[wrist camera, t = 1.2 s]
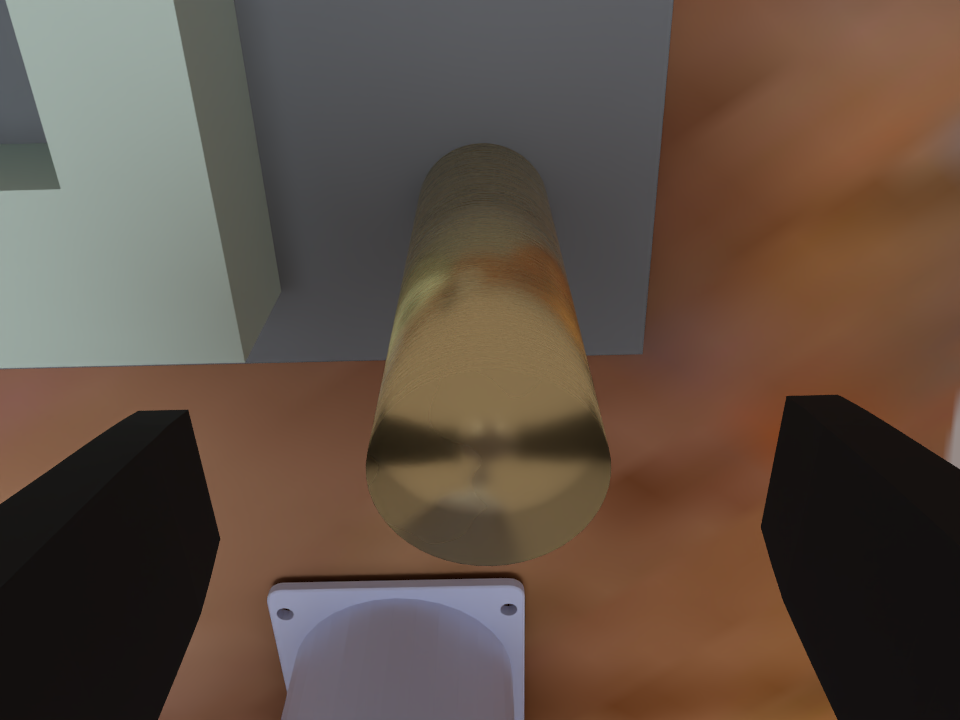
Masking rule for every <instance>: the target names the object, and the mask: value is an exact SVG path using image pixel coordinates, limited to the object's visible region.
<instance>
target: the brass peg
mask: <svg viewBox="0 0 960 720" xmlns="http://www.w3.org/2000/svg"><path fill="white" fill-rule="evenodd" d="M610 476H611V458H610V453H609V447H608V443H607V439H606V435H605V431H604V426H603V422H602V418H601V414H600V410H599V406H598V402H597V398H596V394H595V390H594V386H593V381H592V377H591V373H590V369H589V365H588V361H587V357H586V353H585V349H584V345H583V340H582V336H581V332H580V328H579V324H578V320H577V316H576V312H575V308H574V304H573V299H572V295H571V291H570V287H569V283H568V279H567V275H566V271H565V267H564V263H563V258H562V254H561V250H560V246H559V242H558V238H557V234H556V230H555V226H554V222H553V218H552V213H551V209H550V205H549V201H548V197H547V193H546V189H545V186H544V183H543V181H542V179H541V177H540V175H539V173H538V172H537V170H536V169H535V168H534V166H533V165H532V164H531V163H530V162H529V161H528V160H527V159H526V158H524V157H523V156H522V155H520V154H519V153H517V152H516V151H514V150H511V149H509V148H507V147H504V146H501V145H496V144H490V143H478V144H470V145H466V146H463V147H460V148H457V149H455V150H453V151H451V152H449V153H448V154H446V155H445V156H443V157H442V158H441V159H440V160H439V161H438V162H437V163H436V164H435V165H434V166H433V167H432V168H431V170H430V171H429V173H428V174H427V176H426V177H425V180H424V182H423V184H422V187H421V191H420V195H419V200H418V205H417V210H416V215H415V219H414V224H413V229H412V234H411V239H410V244H409V249H408V254H407V259H406V264H405V269H404V274H403V279H402V284H401V289H400V294H399V299H398V304H397V309H396V314H395V319H394V324H393V329H392V333H391V338H390V343H389V348H388V353H387V358H386V363H385V368H384V373H383V378H382V383H381V388H380V393H379V398H378V403H377V408H376V413H375V418H374V423H373V428H372V433H371V438H370V442H369V447H368V452H367V460H366V479H367V484H368V489H369V492H370V495H371V498H372V500H373V503H374V505H375V506H376V508H377V510H378V512H379V514H380V515H381V516H382V518H383V519H384V520H385V522H386V523H387V524H388V525H389V526H390V527H391V528H392V529H393V530H394V531H395V532H396V533H397V534H398V535H399V536H400V537H402V538H403V539H404V540H406V541H407V542H408V543H410V544H411V545H413V546H415V547H416V548H418V549H420V550H422V551H424V552H426V553H428V554H430V555H432V556H435V557H438V558H441V559H444V560H447V561H452V562H456V563H460V564H467V565H475V566H497V565H508V564H514V563H520V562H524V561H527V560H531V559H535V558H537V557H540V556H542V555H545V554H548V553H550V552H551V551H553V550H555V549H557V548H559V547H561V546H563V545H564V544H566V543H567V542H569V541H570V540H572V539H573V538H574V537H575V536H576V535H578V534H579V533H580V532H581V531H582V530H583V529H584V528H585V527H586V526H587V525H588V524H589V523H590V522H591V520H592V519H593V518H594V516H595V515H596V513H597V512H598V510H599V509H600V507H601V505H602V503H603V501H604V499H605V496H606V493H607V490H608V487H609V482H610Z"/></svg>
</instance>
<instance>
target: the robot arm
mask: <svg viewBox="0 0 960 720" xmlns="http://www.w3.org/2000/svg"><path fill="white" fill-rule="evenodd" d="M761 530H762V533H763V537H764V540H765V543H766V547H767V550H768V554H769V557H770V561H771V564H772V568H773V571H774V574H775V577H776V580H777V583H778V586H779V589H780V592H781V595H782V599H783V602H784V604H785V606H786V608H787V611H788V613H789V615H790V617H791V620H792V622H793V624H794V626H795V629H796V631H797V633H798V635H799V637H800V639H801V642H802V644H803V646H804V648H805V650H806V653H807V655H808V657H809V659H810V661H811V664H812V666H813V668H814V670H815V672H816V674H817V676H818V679H819V681H820V683H821V685H822V687H823V689H824V692H825V694H826V696H827V698H828V700H829V702H830V704H831V707H832V709H833V711H834V713H835V715H836V717H837V719H838V720H960V469H958V468H957V467H955V466H954V465H952V464H951V463H949V462H947V461H946V460H944V459H943V458H941V457H940V456H938V455H936V454H935V453H933V452H932V451H930V450H928V449H927V448H925V447H924V446H922V445H921V444H919V443H917V442H916V441H914V440H913V439H911V438H910V437H908V436H906V435H905V434H903V433H902V432H900V431H899V430H897V429H895V428H894V427H892V426H891V425H889V424H887V423H886V422H884V421H883V420H881V419H879V418H878V417H876V416H875V415H873V414H871V413H870V412H868V411H866V410H865V409H863V408H861V407H859V406H858V405H856V404H854V403H852V402H851V401H849V400H847V399H845V398H843V397H841V396H839V395H811V396H786V402H785V407H784V412H783V417H782V422H781V427H780V432H779V437H778V442H777V447H776V452H775V457H774V463H773V468H772V473H771V478H770V483H769V488H768V493H767V498H766V503H765V508H764V513H763V518H762V524H761ZM219 541H220V536H219V532H218V528H217V524H216V520H215V516H214V512H213V508H212V504H211V500H210V496H209V492H208V488H207V484H206V480H205V476H204V472H203V468H202V464H201V459H200V455H199V451H198V447H197V443H196V439H195V435H194V431H193V427H192V423H191V419H190V415H189V411H188V410H158V411H137V412H136V413H134V414H132V415H130V416H129V417H127V418H125V419H124V420H122V421H120V422H119V423H117V424H116V425H114V426H113V427H111V428H110V429H108V430H107V431H105V432H104V433H102V434H101V435H99V436H98V437H96V438H95V439H93V440H92V441H90V442H89V443H88V444H86V445H85V446H83V447H82V448H80V449H79V450H77V451H76V452H75V453H73V454H72V455H70V456H69V457H67V458H66V459H65V460H63V461H62V462H60V463H59V464H58V465H56V466H55V467H53V468H52V469H50V470H49V471H47V472H46V473H45V474H43V475H42V476H40V477H39V478H37V479H36V480H35V481H33V482H32V483H30V484H29V485H27V486H26V487H24V488H23V489H22V490H20V491H19V492H17V493H16V494H14V495H13V496H11V497H10V498H9V499H7V500H6V501H4V502H3V503H1V504H0V720H158V718H159V716H160V713H161V711H162V708H163V706H164V704H165V701H166V699H167V696H168V694H169V692H170V689H171V687H172V684H173V682H174V679H175V677H176V675H177V672H178V670H179V667H180V665H181V662H182V660H183V657H184V655H185V652H186V650H187V647H188V645H189V642H190V640H191V637H192V635H193V632H194V630H195V627H196V625H197V622H198V620H199V617H200V614H201V611H202V608H203V604H204V600H205V597H206V593H207V590H208V586H209V582H210V579H211V574H212V570H213V566H214V562H215V558H216V554H217V550H218V546H219ZM267 604H268V608H269V613H270V617H271V622H272V626H273V631H274V636H275V640H276V645H277V649H278V654H279V658H280V663H281V667H282V672H283V676H284V681H285V686H286V690H287V696H286V701H285V705H284V709H283V713H282V717H281V720H524V650H525V594H524V587H523V584H522V583H521V582H520V581H518V580H516V579H512V578H488V579H439V580H391V581H343V582H294V583H278V584H276V585H274V586H272V587H271V589H270V590H269V594H268V597H267ZM504 604H513V605H511V606H505V605H504ZM282 608H286V609H289V610H290V611H288V610H284V609H282Z"/></svg>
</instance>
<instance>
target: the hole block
mask: <svg viewBox="0 0 960 720" xmlns="http://www.w3.org/2000/svg"><path fill="white" fill-rule="evenodd" d="M5 1H6V4H7V7H8V11H9V14H10V18H11V21H12V24H13V28H14V31H15V35H16V38H17V41H18V45H19V48H20V52H21V55H22V58H23V62H24V65H25V69H26V72H27V75H28V79H29V82H30V86H31V89H32V92H33V96H34V99H35V103H36V106H37V109H38V113H39V116H40V120H41V123H42V127H43V130H44V133H45V137H46V140H47V143H32V144H0V368H36V367H79V366H121V365H164V364H207V363H245V362H246V360H247V358H248V356H249V354H250V352H251V350H252V348H253V346H254V344H255V342H256V340H257V338H258V336H259V334H260V332H261V330H262V328H263V326H264V324H265V323H266V321H267V319H268V317H269V315H270V313H271V311H272V309H273V307H274V305H275V303H276V301H277V299H278V297H279V295H280V293H281V287H280V281H279V275H278V268H277V262H276V256H275V250H274V244H273V238H272V232H271V226H270V219H269V213H268V207H267V201H266V195H265V189H264V183H263V177H262V171H261V164H260V158H259V152H258V146H257V140H256V134H255V128H254V122H253V115H252V109H251V103H250V97H249V91H248V85H247V79H246V73H245V67H244V60H243V54H242V48H241V42H240V36H239V30H238V24H237V18H236V11H235V5H234V0H5Z"/></svg>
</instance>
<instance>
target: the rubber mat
mask: <svg viewBox="0 0 960 720" xmlns="http://www.w3.org/2000/svg"><path fill="white" fill-rule="evenodd" d="M234 5H235V11H236V18H237V24H238V30H239V36H240V42H241V48H242V54H243V60H244V67H245V73H246V79H247V85H248V91H249V97H250V103H251V109H252V115H253V122H254V128H255V134H256V140H257V146H258V152H259V158H260V164H261V171H262V177H263V183H264V189H265V195H266V201H267V207H268V213H269V219H270V226H271V232H272V238H273V244H274V250H275V256H276V262H277V268H278V275H279V281H280V287H281V293H280V295H279V297H278V299H277V301H276V303H275V305H274V307H273V309H272V311H271V313H270V315H269V317H268V319H267V321H266V323H265V324H264V326H263V328H262V330H261V332H260V334H259V336H258V338H257V340H256V342H255V344H254V346H253V348H252V350H251V352H250V354H249V356H248V358H247V360H246V362H245V363H285V362H328V361H371V360H386V358H387V353H388V348H389V343H390V338H391V333H392V329H393V324H394V319H395V314H396V309H397V304H398V299H399V294H400V289H401V284H402V279H403V274H404V269H405V264H406V259H407V254H408V249H409V244H410V239H411V234H412V229H413V224H414V219H415V215H416V210H417V205H418V200H419V195H420V191H421V187H422V184H423V182H424V180H425V177H426V176H427V174H428V173H429V171H430V170H431V168H432V167H433V166H434V165H435V164H436V163H437V162H438V161H439V160H440V159H441V158H442V157H443V156H445V155H446V154H448V153H449V152H451V151H453V150H455V149H457V148H460V147H463V146H466V145H470V144H478V143H490V144H496V145H501V146H504V147H507V148H509V149H511V150H514V151H516V152H517V153H519V154H520V155H522V156H523V157H524V158H526V159H527V160H528V161H529V162H530V163H531V164H532V165H533V166H534V168H535V169H536V170H537V172H538V173H539V175H540V177H541V179H542V181H543V183H544V186H545V189H546V193H547V197H548V201H549V205H550V209H551V213H552V218H553V222H554V226H555V230H556V234H557V238H558V242H559V246H560V250H561V254H562V258H563V263H564V267H565V271H566V275H567V279H568V283H569V287H570V291H571V295H572V299H573V304H574V308H575V312H576V316H577V320H578V324H579V328H580V332H581V336H582V340H583V345H584V349H585V353H586V355H628V354H643V342H644V331H645V319H646V308H647V297H648V285H649V274H650V262H651V251H652V239H653V228H654V217H655V205H656V194H657V182H658V171H659V160H660V148H661V137H662V125H663V114H664V103H665V91H666V80H667V68H668V57H669V46H670V34H671V23H672V11H673V0H234ZM32 143H47V140H46V137H45V133H44V130H43V127H42V123H41V120H40V116H39V113H38V109H37V106H36V103H35V99H34V96H33V92H32V89H31V86H30V82H29V79H28V75H27V72H26V69H25V65H24V62H23V58H22V55H21V52H20V48H19V45H18V41H17V38H16V35H15V31H14V28H13V24H12V21H11V18H10V14H9V11H8V7H7V4H6V1H5V0H0V144H32ZM207 364H243V363H207ZM164 365H200V364H164ZM121 366H157V365H121ZM79 367H114V366H79ZM36 368H71V367H36ZM0 369H28V368H0Z"/></svg>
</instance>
